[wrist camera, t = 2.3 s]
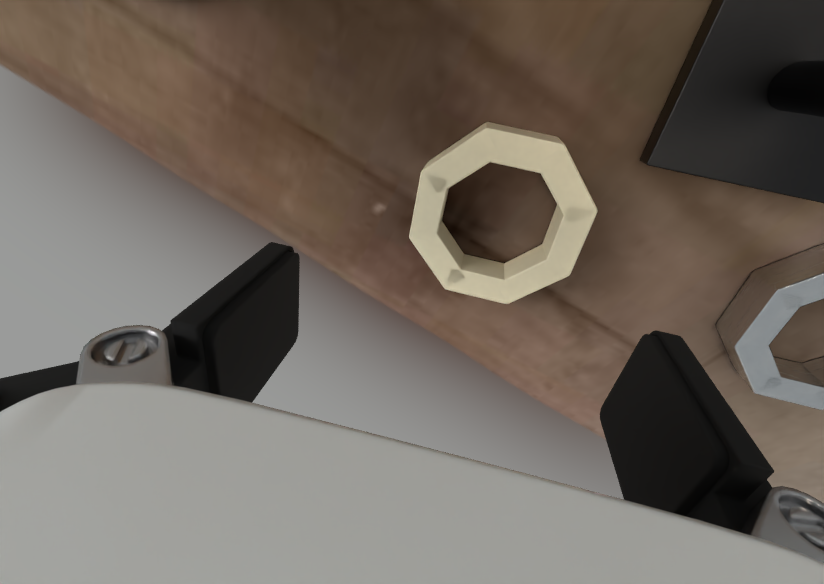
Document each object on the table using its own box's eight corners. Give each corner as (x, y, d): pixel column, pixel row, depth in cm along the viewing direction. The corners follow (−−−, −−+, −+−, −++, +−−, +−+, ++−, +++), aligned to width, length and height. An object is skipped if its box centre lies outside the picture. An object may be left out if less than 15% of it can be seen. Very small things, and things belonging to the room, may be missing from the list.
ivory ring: (408, 262, 27) (401, 278, 25) (436, 110, 22) (431, 115, 20) (548, 296, 27) (552, 315, 24) (609, 147, 22) (622, 156, 20)
